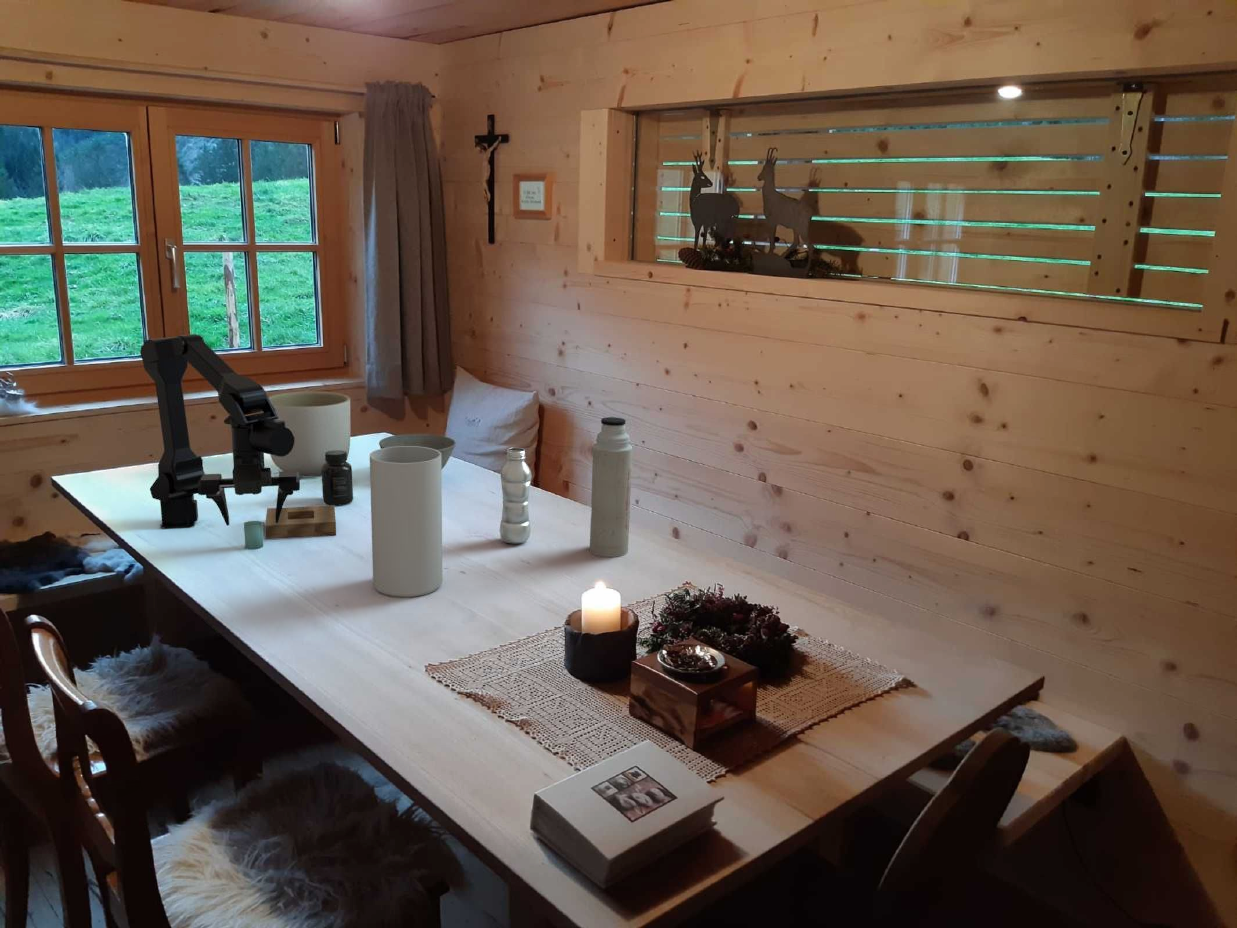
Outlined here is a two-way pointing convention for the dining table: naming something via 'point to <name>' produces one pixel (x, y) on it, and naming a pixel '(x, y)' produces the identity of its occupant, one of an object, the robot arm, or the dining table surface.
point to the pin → (253, 535)
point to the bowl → (422, 443)
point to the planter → (312, 428)
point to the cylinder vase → (406, 520)
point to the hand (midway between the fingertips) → (252, 523)
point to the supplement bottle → (337, 479)
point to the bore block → (301, 522)
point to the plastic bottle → (515, 497)
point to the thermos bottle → (611, 489)
